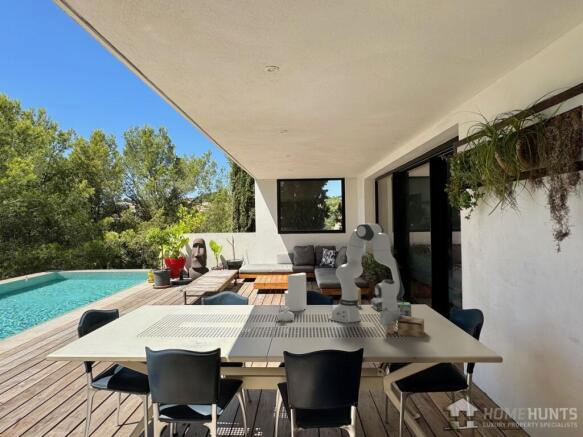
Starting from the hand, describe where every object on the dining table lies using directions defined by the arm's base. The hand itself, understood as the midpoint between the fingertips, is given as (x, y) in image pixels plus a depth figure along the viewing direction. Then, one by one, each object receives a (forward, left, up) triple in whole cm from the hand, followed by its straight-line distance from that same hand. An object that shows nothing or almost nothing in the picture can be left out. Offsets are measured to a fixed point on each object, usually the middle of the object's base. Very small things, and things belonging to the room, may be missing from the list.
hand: (390, 329), depth 209 cm
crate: (+12, +3, -2) cm, 12 cm away
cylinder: (-79, +30, -2) cm, 85 cm away
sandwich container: (-42, +56, -2) cm, 70 cm away
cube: (0, 0, -2) cm, 2 cm away
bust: (-70, -5, -2) cm, 70 cm away
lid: (+19, +3, +6) cm, 20 cm away
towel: (-15, +59, -2) cm, 61 cm away
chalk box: (+4, +31, -2) cm, 31 cm away
